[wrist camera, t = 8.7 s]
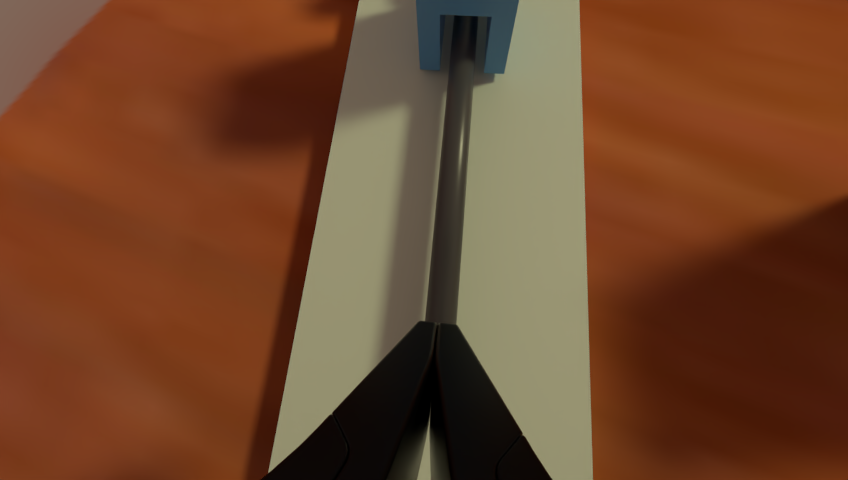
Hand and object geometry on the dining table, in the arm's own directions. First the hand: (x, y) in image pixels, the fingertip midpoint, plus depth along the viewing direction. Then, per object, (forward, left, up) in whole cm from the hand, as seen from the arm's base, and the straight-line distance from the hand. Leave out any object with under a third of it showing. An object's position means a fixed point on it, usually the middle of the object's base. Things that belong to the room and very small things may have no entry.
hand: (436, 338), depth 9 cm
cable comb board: (+4, -10, -10) cm, 14 cm away
